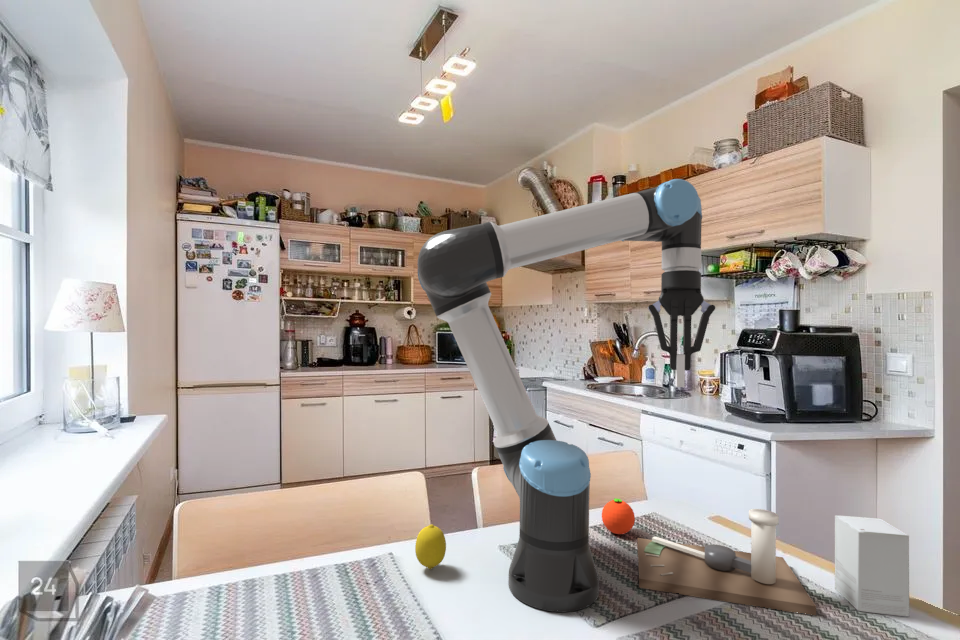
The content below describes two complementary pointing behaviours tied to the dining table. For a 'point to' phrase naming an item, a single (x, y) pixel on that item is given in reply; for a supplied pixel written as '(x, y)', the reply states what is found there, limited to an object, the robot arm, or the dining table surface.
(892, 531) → the supplement box
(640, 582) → the brown wooden board
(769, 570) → the knobbed stick and post
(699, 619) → the dining table surface
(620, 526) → the clementine
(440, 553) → the lemon
